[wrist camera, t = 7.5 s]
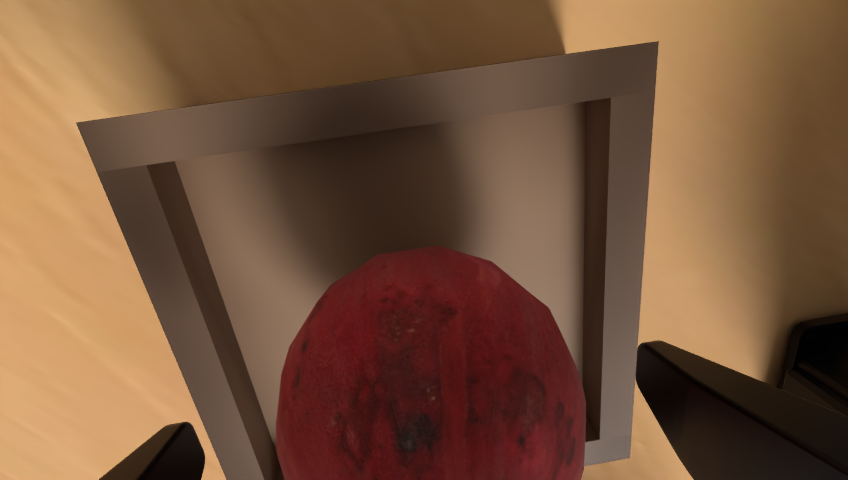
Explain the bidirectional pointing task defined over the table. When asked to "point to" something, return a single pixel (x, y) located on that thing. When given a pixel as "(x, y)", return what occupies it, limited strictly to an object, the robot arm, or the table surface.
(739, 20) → the table surface
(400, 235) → the walnut base
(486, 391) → the onion
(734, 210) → the table surface
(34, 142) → the table surface
